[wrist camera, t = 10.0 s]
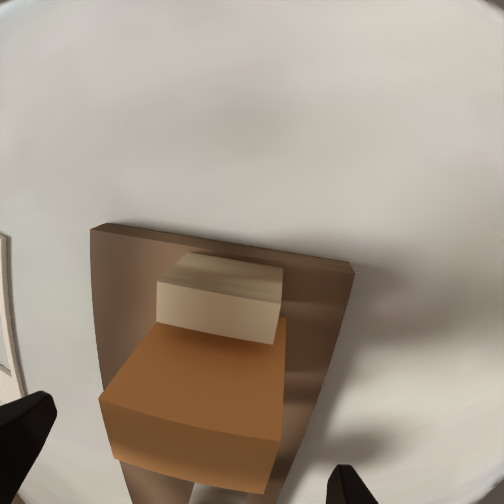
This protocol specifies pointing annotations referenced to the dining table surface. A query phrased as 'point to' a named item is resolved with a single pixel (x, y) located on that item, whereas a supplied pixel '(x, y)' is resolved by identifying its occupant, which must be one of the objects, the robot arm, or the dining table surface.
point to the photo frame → (8, 338)
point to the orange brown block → (199, 407)
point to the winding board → (217, 325)
